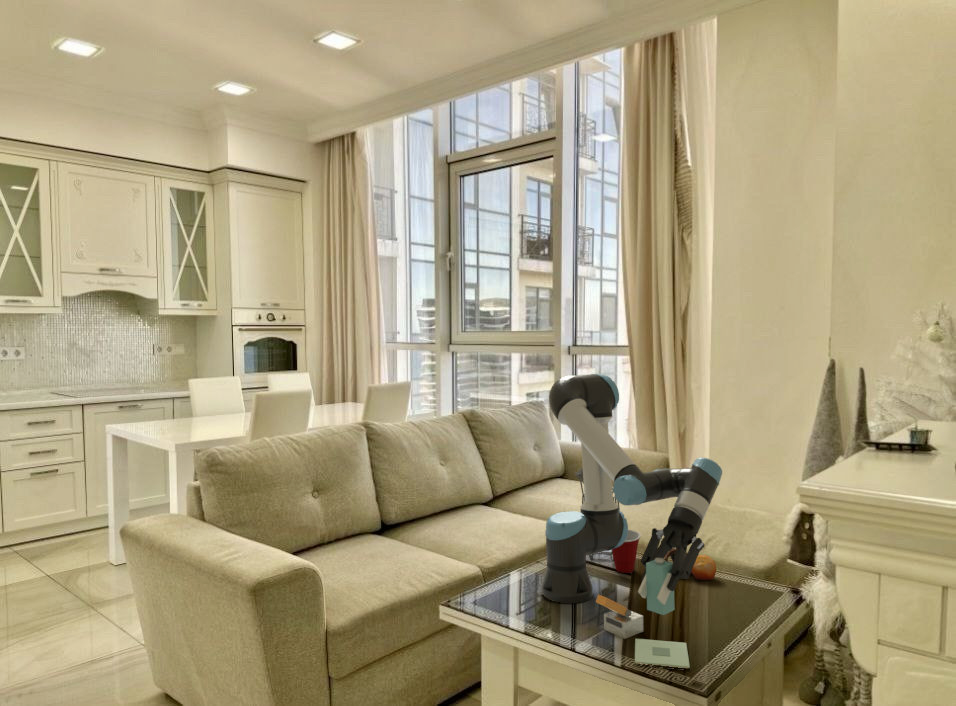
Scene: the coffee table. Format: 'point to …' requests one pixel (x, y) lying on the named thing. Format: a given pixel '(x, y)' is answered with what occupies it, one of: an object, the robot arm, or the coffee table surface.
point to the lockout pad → (661, 653)
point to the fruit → (704, 568)
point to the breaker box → (623, 624)
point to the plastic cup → (626, 553)
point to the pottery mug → (672, 555)
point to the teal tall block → (658, 586)
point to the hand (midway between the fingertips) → (651, 598)
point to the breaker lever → (613, 606)
